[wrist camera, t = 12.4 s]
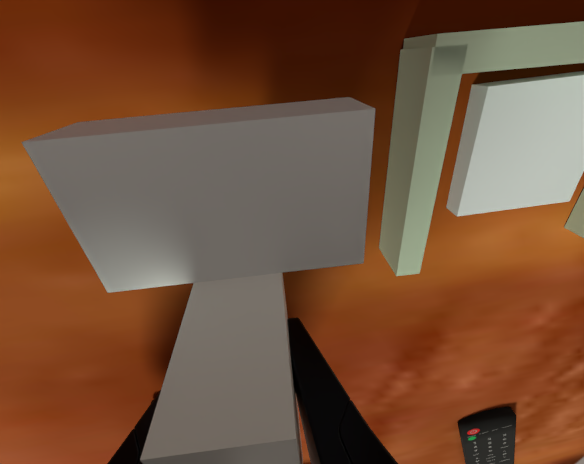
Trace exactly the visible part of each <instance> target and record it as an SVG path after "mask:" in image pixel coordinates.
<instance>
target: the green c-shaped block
mask: <svg viewBox="0 0 584 464" xmlns="http://www.w3.org/2000/svg"><path fill="white" fill-rule="evenodd" d="M576 63H584V21H582V22H571V23H559V24H547V25H535V26H523V27H512V28H500V29H488V30H476V31H464V32H452V33H441V34H433V35H426V36H419V37H413V38H406V39H404V44H403V49H401V50H400V59H399V68H398V77H397V86H396V96H395V105H394V114H393V123H392V133H391V142H390V151H389V160H388V170H387V179H386V188H385V197H384V207H383V216H382V225H381V234H380V244H379V249H380V250H381V252H382V254H383V255H384V257H385V259H386V260H387V262H388V263H389V265H390V267H391V268H392V270H393V271H394V273H395V275H396V276H402V275H410V274H419V273H420V269H421V264H422V260H423V255H424V250H425V246H426V241H427V236H428V231H429V227H430V222H431V217H432V213H433V208H434V203H435V198H436V194H437V189H438V184H439V180H440V175H441V170H442V165H443V161H444V156H445V151H446V147H447V142H448V137H449V132H450V128H451V123H452V118H453V114H454V109H455V104H456V99H457V95H458V90H459V85H460V81H461V76H462V74H465V73H476V72H487V71H498V70H509V69H521V68H532V67H543V66H554V65H565V64H576ZM564 228H566V229H568V230H570V231H572V232H573V233H575V234H577V235H579V236H581V237H582V238H584V189H583V191H582V193H581V195H580V197H579V199H578V201H577V203H576V205H575V207H574V209H573V211H572V213H571V214H570V216H569V218H568V220H567V222H566V224H565V226H564Z"/></svg>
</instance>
